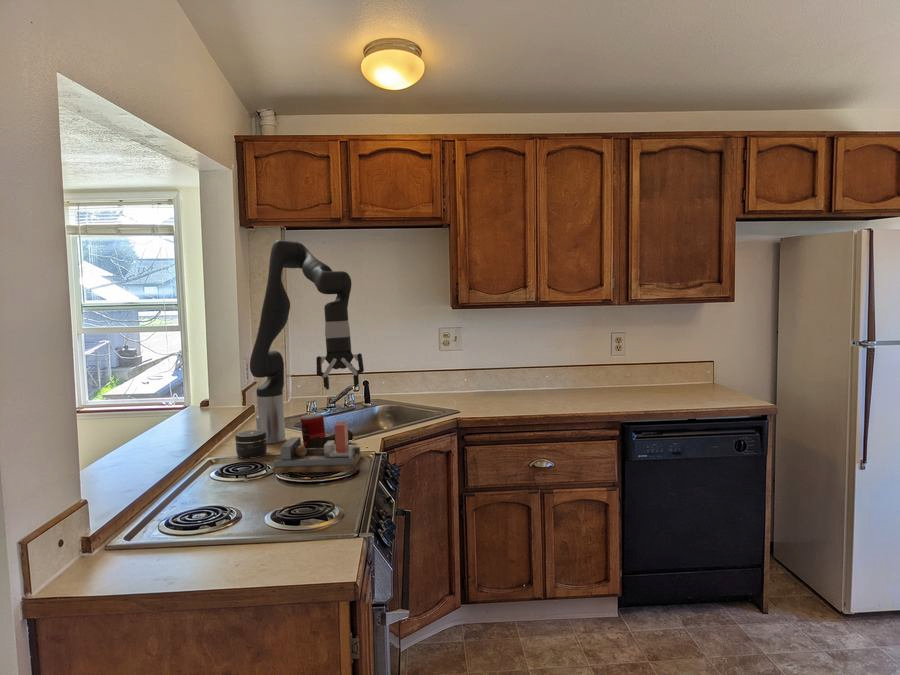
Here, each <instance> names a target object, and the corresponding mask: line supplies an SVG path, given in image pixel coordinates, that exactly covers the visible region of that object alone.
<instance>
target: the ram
mask: <svg viewBox="0 0 900 675" xmlns="http://www.w3.org/2000/svg"><path fill="white" fill-rule="evenodd" d="M334 434H335V443H334V441H327V443H326V444H325V445H324V458H353V456H354V454H355V447H356V445H355V444H349V441H348V421H337V423H336V424H334Z"/></svg>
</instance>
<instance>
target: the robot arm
mask: <svg viewBox="0 0 900 675" xmlns="http://www.w3.org/2000/svg"><path fill="white" fill-rule="evenodd" d="M283 269H300V270H301V269H302V270H301V271H302V274H303V276H304V277H305V278H306V279H307V280H309V281H310V282H311V283H313V284H314V286H315V287H316V289H317V291H318V292H319V293H320V294H323V295H336V297H335V299H334V301H330V302H327V303H325V304H324V322H325V323H324V325H325V326H324V337H325V346H326V348H325V349H326V355H325V356H321V355H318V356H317V357H316V376H318V377H321V378H323V380H322V382H323V388H325V390H327V391H328V390H330V378H329V374H331V373H330V372H332V370H333V369H334V370H339V369H341V370H345V369H346V368H347V369H348V370H349V371H350V372H351V373H352V374H353V376H352V377H353V388H354V389H355V388H357V387H358V386H359V384H360V380H359V375H360V374H363V373H364V371H365V368H364V360H363V354H362V353H361V352H360V353H356V354H353V353H352V342H351V330H350V329H351V327H350V324H349V322H350V321H349V313H348V311H349V310H348V308H349V302H350V301H349V300H350V295H351V290H352V279H351V276H350V275H349V273H348V272H346V271H343V270H340V271H338V270H337V271H335V270H334V271H333V270H332V268H331V267H330V266H329V265H328V264H325V263H324V262H322V261H320V259H317V258H316V257H315V255H313V253H312V252H311V251H310V250H309V249H308V248H307V247H306V246H305V245H304V244H303V243H301V242H298V241H292V240H283V239H278V240H276V241H274V242H273V244H272V247H271V249H270V256H269V264H268V276H267V284H266V289H265V292H264V293H265V294H264V299H263V304H262V308H261V314H260V320H259V326H258V330H257V334H256V338H255V342H254V345H253V349H252V352H251V355H250V361H249V370H250V374H251V375H252V376H253V377H254V378H258V379H260V378H266V380H265V382H264V383H263V384H261V385H259V386H258V387H257V388H256V392H255V393H256V407H257V408H256V409H257V416H256V417H255V422H256V423H255V425H256V430H263V431H265V432H266V437H267V439H266V443H267V445H268V444H278V443H281V442H285V441H286V430H285V429H286V428H285V426H286V425H285V408H284V394H283V392H284V391H283V389H284V386H285V364H284V362H285V361H284V358H283V355H282V354H281V352H280V351H277V350H270V349H271V346H272V344H273V342H275V339H276V338H277V337H278V335H279V334H280V333H281V332H282V330H283V329H285V328H284V327H286V325H287V323H288V320H289V316H290V310H291V302H290V298H289V296H288V294H287V291H286V289H285V287H284V284H283V279H282V277H283V275H282V274H283ZM353 359H355V361H356V362H357V364H358V369H357V368H355V366H354V364H352V363H351V362H352V361H353ZM325 361H326V363H327V364H329V365H328V366H327V367H326V369H325V371H323V369H322V368H323V363H325Z"/></svg>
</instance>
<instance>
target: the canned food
mask: <svg viewBox="0 0 900 675" xmlns="http://www.w3.org/2000/svg"><path fill="white" fill-rule="evenodd" d="M324 419H325V418H324V414H323V413H322V412H314V413H307V414H303V415H301V416H300V426H301V435H302V444H303V446H304V447H305V445H306V443H307V441H308V440H309V439H311V438H315V437H321V438H323V437H327V436H326V431H325V430H326V429H325V421H324Z"/></svg>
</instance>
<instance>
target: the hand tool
mask: <svg viewBox="0 0 900 675" xmlns="http://www.w3.org/2000/svg"><path fill="white" fill-rule="evenodd" d="M349 440H352V441H353V440H354V435H353V433H352V431H350V430H348V442H349ZM327 441H334V443H335V433H333V434H332V435H328V436H326V437H323V438H321V437H315V438H311V439H309V440H308V441H307V443H306V445H305V448H324V445H325V444H326V443H327Z"/></svg>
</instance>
